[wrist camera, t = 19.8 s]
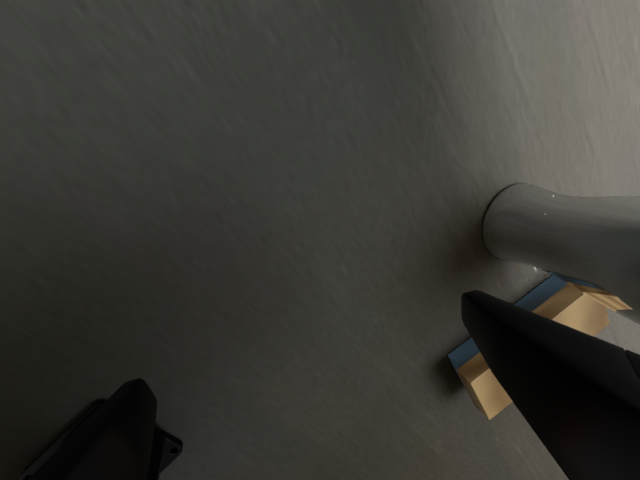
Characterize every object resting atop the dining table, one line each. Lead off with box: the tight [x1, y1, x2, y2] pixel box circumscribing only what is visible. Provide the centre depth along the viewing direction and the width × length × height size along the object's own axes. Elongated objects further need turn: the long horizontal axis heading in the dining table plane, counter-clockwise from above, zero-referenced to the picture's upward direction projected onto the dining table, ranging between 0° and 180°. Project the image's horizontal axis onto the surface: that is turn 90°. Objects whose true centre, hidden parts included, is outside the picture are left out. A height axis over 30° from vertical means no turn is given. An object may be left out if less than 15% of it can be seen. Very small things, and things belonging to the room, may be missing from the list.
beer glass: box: [483, 183, 640, 324], centre depth 19 cm, size 7×7×15 cm
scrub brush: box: [448, 275, 609, 420], centre depth 27 cm, size 13×5×3 cm, turn 121°
